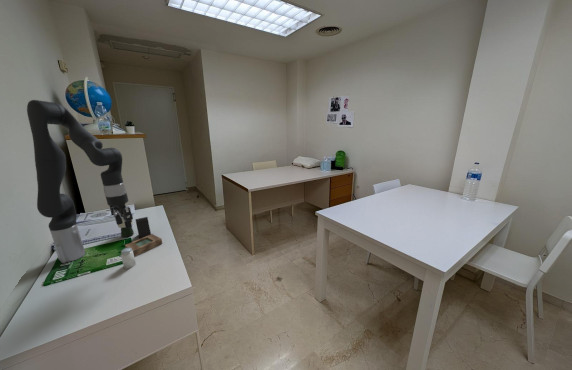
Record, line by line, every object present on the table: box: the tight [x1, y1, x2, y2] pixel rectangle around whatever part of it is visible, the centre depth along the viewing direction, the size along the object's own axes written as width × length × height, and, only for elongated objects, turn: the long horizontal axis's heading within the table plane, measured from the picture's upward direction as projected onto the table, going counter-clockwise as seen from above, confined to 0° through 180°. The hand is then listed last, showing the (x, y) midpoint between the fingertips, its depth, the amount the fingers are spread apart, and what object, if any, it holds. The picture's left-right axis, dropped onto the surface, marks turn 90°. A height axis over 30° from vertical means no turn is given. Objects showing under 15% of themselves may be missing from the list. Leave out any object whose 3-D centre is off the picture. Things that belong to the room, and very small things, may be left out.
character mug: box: [117, 215, 135, 238], centre depth 127 cm, size 11×7×13 cm, turn 38°
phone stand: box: [135, 216, 152, 239], centre depth 126 cm, size 9×6×12 cm, turn 37°
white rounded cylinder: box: [120, 248, 137, 269], centre depth 100 cm, size 5×5×8 cm
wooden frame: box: [124, 233, 163, 257], centre depth 116 cm, size 14×10×3 cm
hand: (124, 226), depth 98 cm, fingers open, 8 cm apart
